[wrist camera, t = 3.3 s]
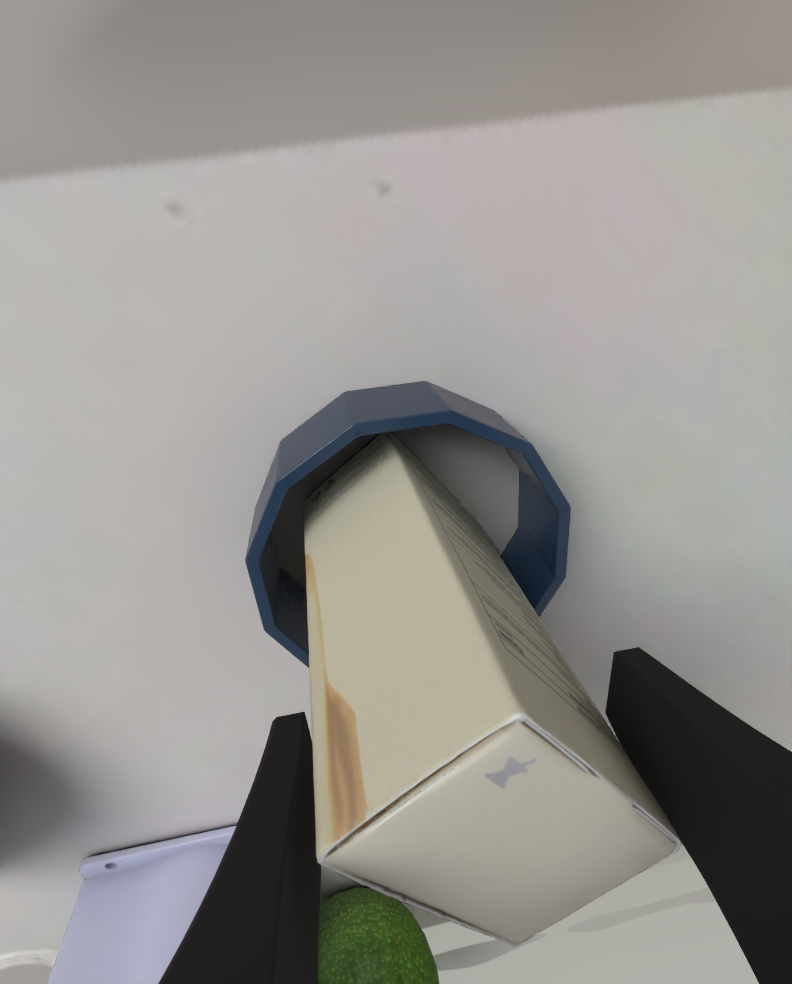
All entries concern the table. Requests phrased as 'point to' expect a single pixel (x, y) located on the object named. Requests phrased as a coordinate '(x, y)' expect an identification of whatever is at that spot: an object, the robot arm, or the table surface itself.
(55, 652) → the table surface
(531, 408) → the table surface
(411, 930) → the fruit
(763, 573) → the table surface
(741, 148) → the table surface
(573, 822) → the cosmetic box
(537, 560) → the dark blue faceted ring
